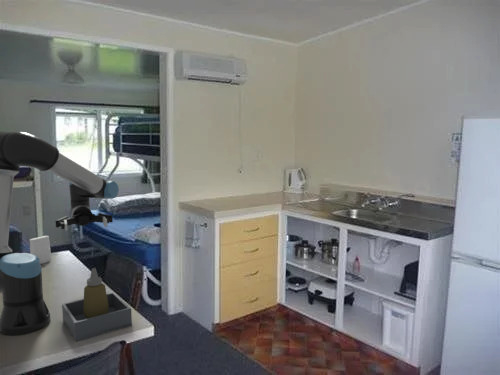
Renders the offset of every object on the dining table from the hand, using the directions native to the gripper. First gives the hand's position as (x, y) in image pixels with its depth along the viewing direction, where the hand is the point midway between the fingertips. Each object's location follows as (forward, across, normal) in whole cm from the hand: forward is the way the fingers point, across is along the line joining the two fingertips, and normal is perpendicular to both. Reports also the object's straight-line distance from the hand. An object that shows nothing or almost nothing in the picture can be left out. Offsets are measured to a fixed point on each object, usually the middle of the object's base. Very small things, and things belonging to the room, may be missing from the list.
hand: (86, 225), depth 151 cm
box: (+18, 0, -30) cm, 35 cm away
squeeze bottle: (+18, 0, -29) cm, 34 cm away
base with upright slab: (-68, +18, -30) cm, 77 cm away
